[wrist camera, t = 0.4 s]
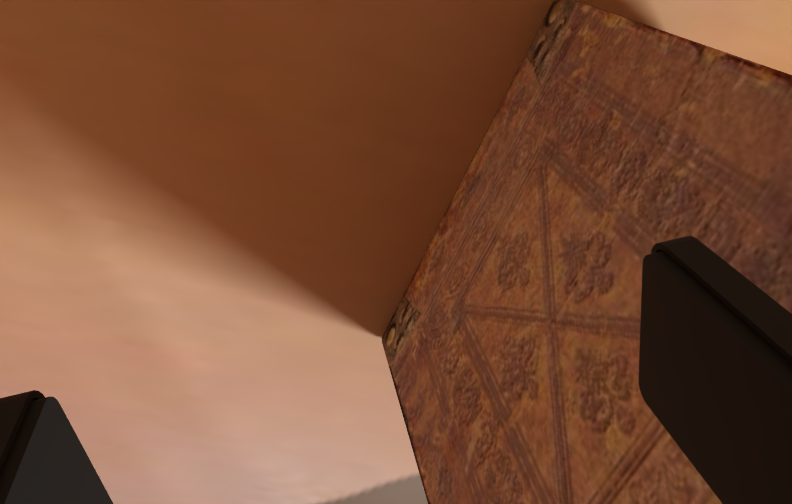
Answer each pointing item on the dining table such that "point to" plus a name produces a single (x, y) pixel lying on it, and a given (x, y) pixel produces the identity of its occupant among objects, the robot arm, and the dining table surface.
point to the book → (584, 262)
